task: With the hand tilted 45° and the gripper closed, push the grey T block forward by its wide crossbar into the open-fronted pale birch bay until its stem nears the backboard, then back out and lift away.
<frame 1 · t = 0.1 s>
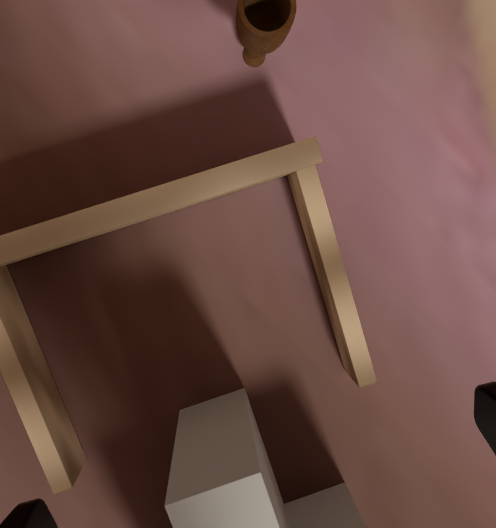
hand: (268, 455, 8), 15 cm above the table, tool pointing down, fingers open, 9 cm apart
birch bay: (184, 320, 24), on the table
t block: (243, 486, 25), on the table
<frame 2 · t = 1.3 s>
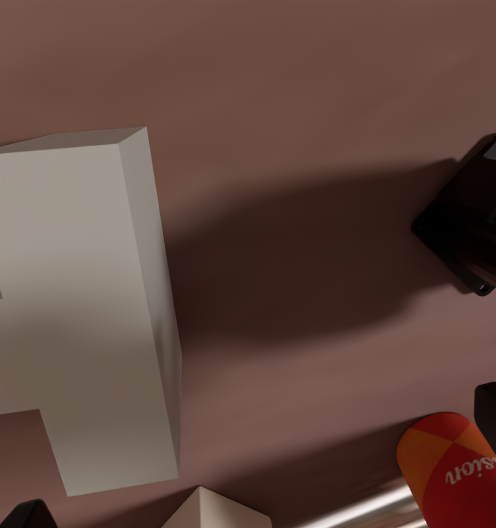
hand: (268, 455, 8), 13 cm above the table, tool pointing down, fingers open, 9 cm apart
t block: (40, 267, 20), on the table
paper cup: (432, 442, 28), on the table
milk: (209, 526, 28), on the table
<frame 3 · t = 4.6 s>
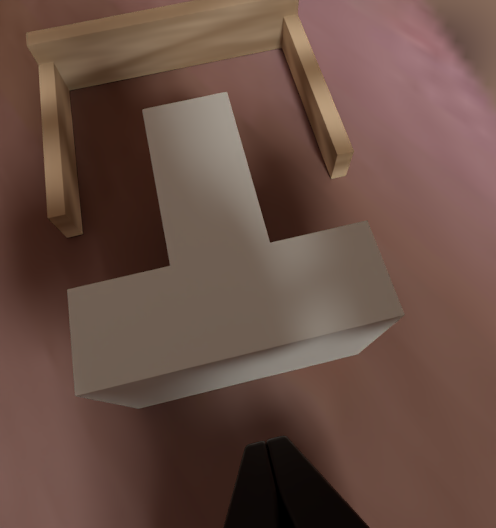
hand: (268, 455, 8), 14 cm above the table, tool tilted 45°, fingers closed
birch bay: (192, 132, 28), on the table
t block: (226, 278, 24), on the table
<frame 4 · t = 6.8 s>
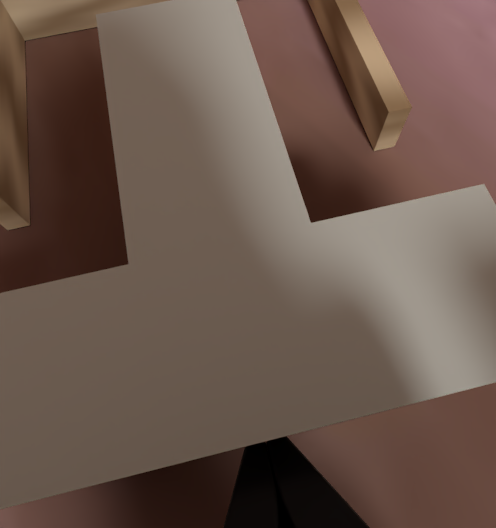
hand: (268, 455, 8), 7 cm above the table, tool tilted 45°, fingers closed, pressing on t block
birch bay: (184, 91, 21), on the table
t block: (229, 286, 17), on the table, touching gripper
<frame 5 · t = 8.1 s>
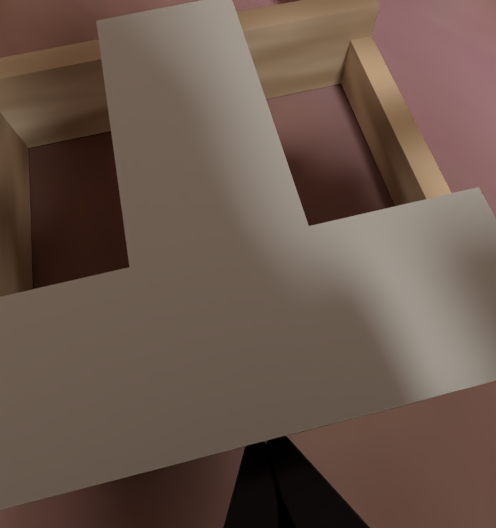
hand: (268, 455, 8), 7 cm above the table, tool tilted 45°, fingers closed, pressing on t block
birch bay: (211, 216, 19), on the table
t block: (228, 287, 17), on the table, touching gripper
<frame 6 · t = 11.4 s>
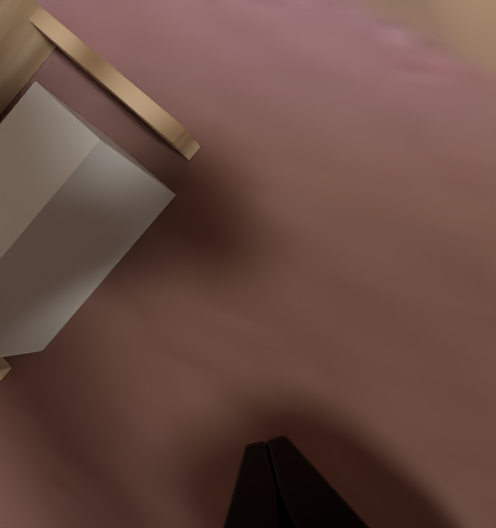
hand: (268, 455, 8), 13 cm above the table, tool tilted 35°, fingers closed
birch bay: (35, 201, 25), on the table
t block: (43, 209, 25), on the table
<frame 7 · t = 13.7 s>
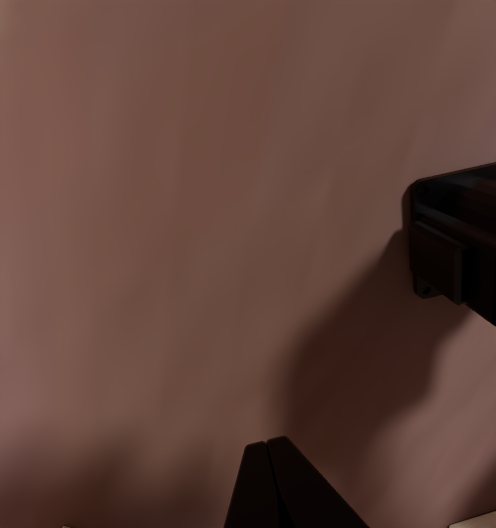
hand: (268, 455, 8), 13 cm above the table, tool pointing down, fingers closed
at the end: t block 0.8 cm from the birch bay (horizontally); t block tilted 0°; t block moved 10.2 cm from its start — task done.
